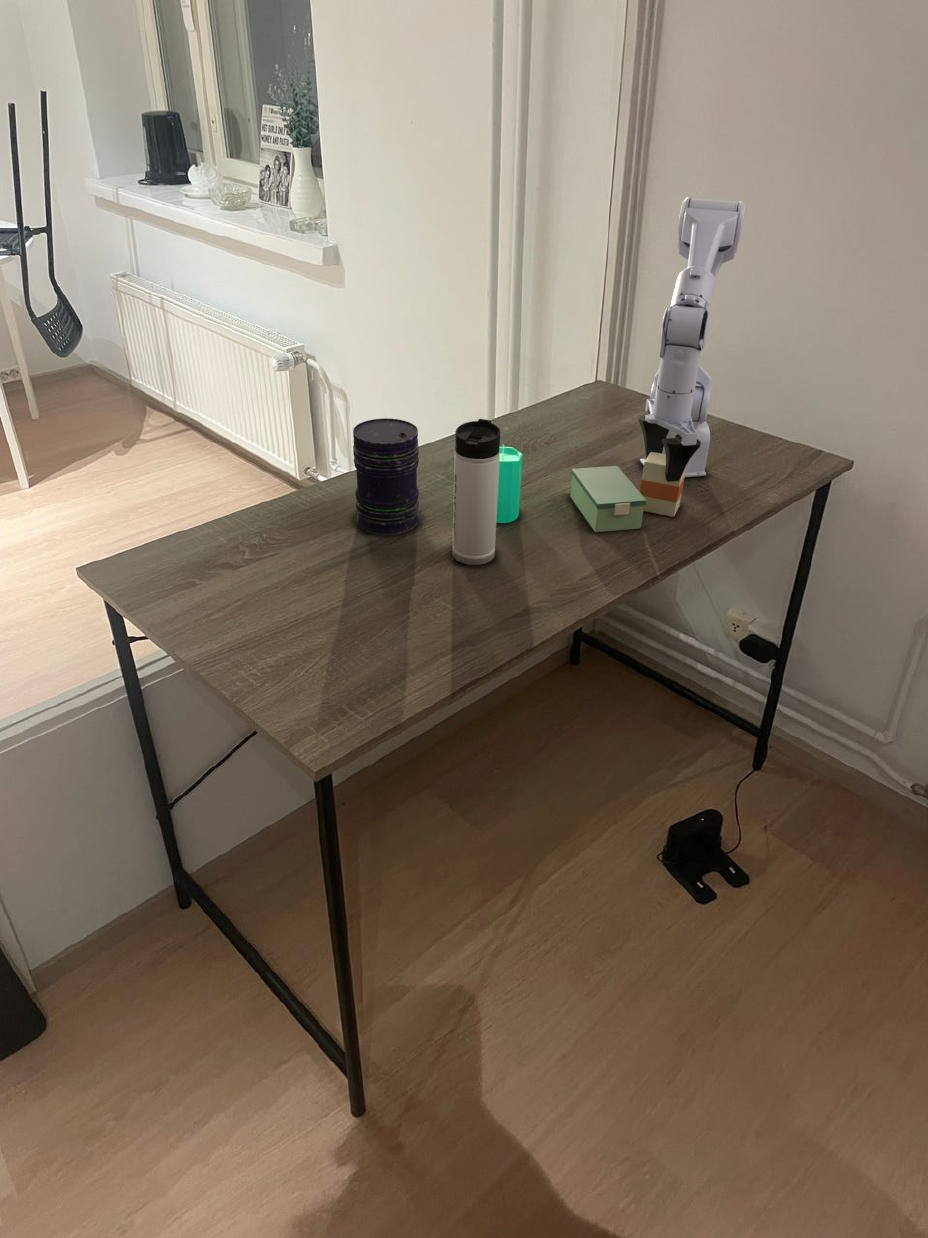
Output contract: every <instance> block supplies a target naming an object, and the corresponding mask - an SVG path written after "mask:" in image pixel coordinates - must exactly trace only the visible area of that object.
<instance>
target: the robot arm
mask: <svg viewBox="0 0 928 1238" xmlns="http://www.w3.org/2000/svg"><path fill="white" fill-rule="evenodd" d="M746 209H747V205H746V203H745V202H744V200H739V201H734V200H731V201H730V200H719V199H718V200H717V199H705V198H693V197H691V196H687V197H686V198H685V199H683V201H682V203H681V207H680V213H679V217H678V225H677V248H678V255H679V256H680V257H683V258H684V259H685V260H687V261H688V263H687V267H686V268H684V269H682V270H681V271H680V272H679V274H678V275H677V277H676V282H675V285H674V289H673V293H672V298H671V302H670V306H669V308H668V307H666V308H665V310H664V313H663V317H662V323H661V329H660V350H659V358H660V361H659V367H658V370H657V372H656V373H655V375H654V378H653V379H654V380H653V383H652V386H651V390H650V395H649V398H648V399H646V401H645V408H644V411H645V412H646V415H640V416H639V417H638V419H637V420H638V423H639V425H640V428H641V431H642V436H643V442H644V443H643V444H644V455H645V458H640V460H639V462H640V463H641V464H642V465H643V466H644V462H645V460H646V459H647V457H648V455H649V454H650V452H655V453H661V454H666V470H665V477H666V481H667V482H673V481H679V480H680V478H681V476H682V474H683V472H684V470H685V468H686V471H685V478H695V477H706V476H707V472H705V470H706V466H707V465H706V464H707V461H708V460H707V459H708V454H709V449H710V444H711V430H710V427H709V425H708V422H707V416H708V411H709V408H710V407H709V406H710V401H711V395H712V387H713V380H712V376H711V374H709V373H708V371H706V370H705V368H703V367H702V366H701V364H700V363H701V358H702V352H703V350H704V348H705V346H706V343H707V339H708V334H709V329H710V324H711V307H712V301H713V296H714V292H715V287H716V278H717V277H718V276H717V275H718V273H719V271H720V270H721V268H722V266H723V264H725V263H727V262H730V261H733V260H734V259H735V255H736V254H737V253H738V248H739V244H740V243H739V242H740V241H741V236H742V231H743V225H744V219H745V215H746Z"/></svg>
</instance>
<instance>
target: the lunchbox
mask: <svg viewBox="0 0 928 1238" xmlns="http://www.w3.org/2000/svg"><path fill="white" fill-rule="evenodd" d="M570 474H571V475H572V478H571V488H570V498H571V500H572V502H573V503H574V504H575V506H576V508H578V510H579V511H580V513H581V514H582V515H583V517H584V519H585V520H586V521H587V523H588V524H589V525H590V527H591V528H592V530H593V531H594V533H603V532H614V531H625V530H627V531H628V530H639V529H642V524H643V523H642V522H643V515H644V511H643V509H644V505H646V502H647V500H646V499H645V498H644V497H643V495H642V494H641V493H640V490H639V489H638V488H637V487H636V486H635V485H634V484H633V482H632V481H631V480H630V479H629V478H628V477H627V475H626V474H625V472H624V471H622V469H621V468H620V467H619V466H618V465H610V466H596V467H595V466H594V467H593V466H592V467H581V468H571V472H570Z"/></svg>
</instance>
